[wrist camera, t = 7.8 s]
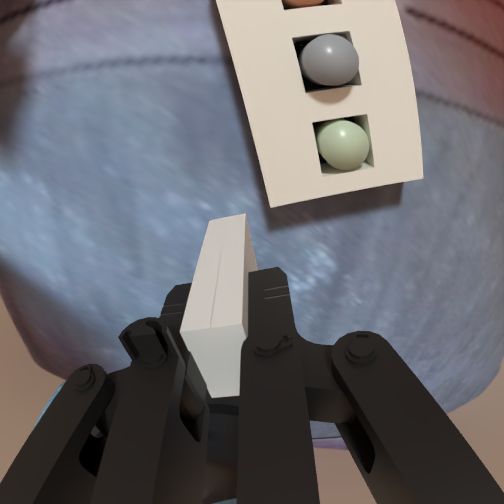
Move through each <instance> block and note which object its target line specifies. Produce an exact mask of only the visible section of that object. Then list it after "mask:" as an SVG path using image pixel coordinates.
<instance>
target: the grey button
mask: <svg viewBox="0 0 504 504" xmlns="http://www.w3.org/2000/svg"><path fill="white" fill-rule="evenodd" d="M298 63H299V67H300V71H301V73H302V75H303V76H304V77H305V78H306V79H307V80H308V81H310V82H312V83H314V84H317V85H342V84H345V83H347V82H349V81H350V80H351V79H353V77H354V76H355V75H356V73H357V71H358V68H359V57H358V53H357V51H356V49H355V48H354V46H353V45H352V44H351V43H350V42H349V41H348V40H346V39H345V38H343V37H341V36H338V35H333V34H326V35H322V36H319V37H317V38H315V39H314V40H312V41H311V42H310V43H308V44H307V45H306V46H304V47H303V48H302V50H301V51H300V53H299V56H298Z"/></svg>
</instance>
